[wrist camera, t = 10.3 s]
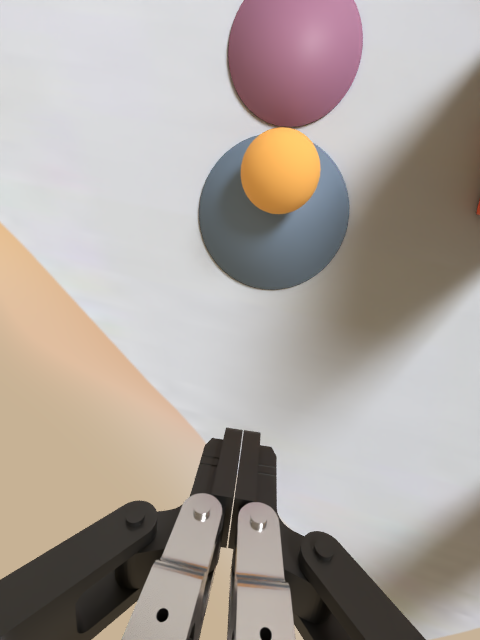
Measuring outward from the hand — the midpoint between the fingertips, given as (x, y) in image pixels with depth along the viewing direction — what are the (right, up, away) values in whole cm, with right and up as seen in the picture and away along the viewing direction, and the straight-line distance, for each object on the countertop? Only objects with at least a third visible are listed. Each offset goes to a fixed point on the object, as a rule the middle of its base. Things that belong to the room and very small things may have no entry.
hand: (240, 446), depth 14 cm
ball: (+3, +17, +11) cm, 20 cm away
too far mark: (+4, +26, +11) cm, 28 cm away
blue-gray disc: (+3, +15, +15) cm, 21 cm away
